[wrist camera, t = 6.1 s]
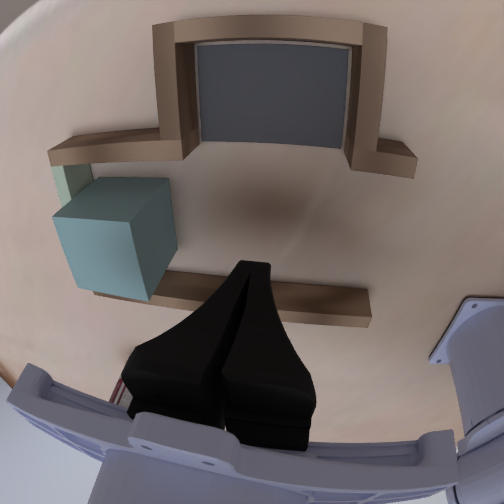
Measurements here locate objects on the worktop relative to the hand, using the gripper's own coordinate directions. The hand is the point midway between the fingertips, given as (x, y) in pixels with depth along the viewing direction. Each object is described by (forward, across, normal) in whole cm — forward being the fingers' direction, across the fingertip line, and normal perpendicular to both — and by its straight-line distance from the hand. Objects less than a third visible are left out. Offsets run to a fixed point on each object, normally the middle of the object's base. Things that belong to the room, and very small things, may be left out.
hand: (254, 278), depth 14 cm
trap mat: (+5, 0, -7) cm, 9 cm away
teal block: (+5, +8, 0) cm, 10 cm away
